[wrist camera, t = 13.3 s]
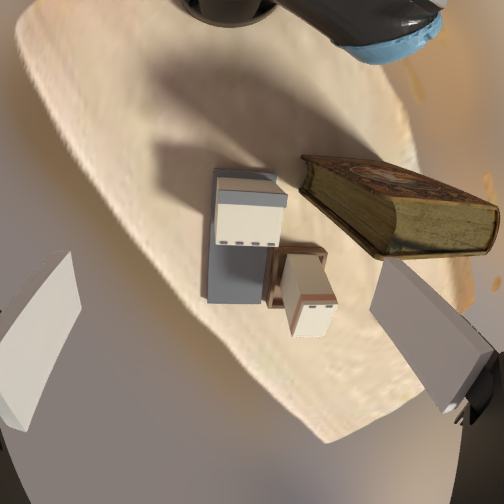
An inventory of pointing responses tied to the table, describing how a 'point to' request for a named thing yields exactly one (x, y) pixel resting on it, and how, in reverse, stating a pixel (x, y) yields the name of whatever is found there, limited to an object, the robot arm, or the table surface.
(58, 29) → the table surface
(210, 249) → the board
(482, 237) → the book
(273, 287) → the tray
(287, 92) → the table surface
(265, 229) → the pad
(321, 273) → the stub
